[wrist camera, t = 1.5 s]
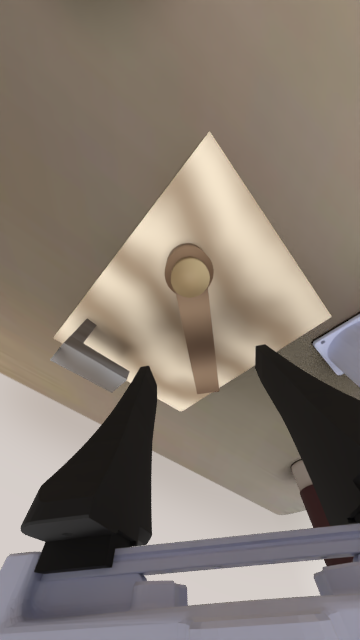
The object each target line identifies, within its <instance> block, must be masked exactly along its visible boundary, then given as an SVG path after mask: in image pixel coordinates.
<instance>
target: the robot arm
mask: <svg viewBox="0 0 360 640" xmlns="http://www.w3.org/2000/svg"><path fill="white" fill-rule="evenodd" d="M321 341H322V342H321ZM313 346H314V347H315V348H316V350H317V351H318V352H319V353H320V355H321V356H322V357H323V358H324V360H325V361H326V362H327V363H328V365H329V366H330V367H331V368H332V370H333V371H334V372H335V373H336V374H337V375H342V374H346V375H347V376H348V377H349V378H350V379H351V380H352V381H353V382H354V383H355V384H357V385H358V386H359V387H360V314H358V315H357V316H355V317H353V318H352V319H350V320H348V321H347V322H345V323H343V324H342V325H340V326H338V327H337V328H335V329H334V330H332V331H330V332H329V333H327V334H325V335H324V336H322V337H320V338H319V339H317V340H315V341H314V342H313ZM255 369H256V371H257V373H258V376H259V378H260V380H261V382H262V384H263V386H264V388H265V389H266V391H267V393H268V394H269V396H270V398H271V400H272V401H273V403H274V405H275V406H276V408H277V410H278V411H279V413H280V415H281V417H282V418H283V420H284V422H285V424H286V426H287V428H288V430H289V432H290V434H291V437H292V439H293V441H294V443H295V445H296V447H297V450H298V452H299V454H300V456H301V458H302V461H303V463H304V465H305V467H306V470H307V472H308V474H309V477H310V479H311V481H312V484H313V486H314V488H315V491H316V493H317V496H318V498H319V500H320V503H321V505H322V508H323V510H324V513H325V515H326V518H327V520H328V522H329V524H330V526H329V527H319V528H310V529H300V530H290V531H282V532H271V533H262V534H252V535H243V536H233V537H224V538H214V539H205V540H194V541H185V542H175V543H166V544H156V545H146V544H147V543H148V541H149V540H150V538H151V536H152V522H151V461H152V439H153V430H154V422H155V414H156V406H157V383H156V381H155V379H154V376H153V374H152V371H151V369H150V367H149V366H143V367H140V368H139V370H138V372H137V373H136V375H135V377H134V379H133V380H132V382H131V384H130V385H129V387H128V389H127V390H126V392H125V393H124V395H123V396H122V398H121V399H120V401H119V402H118V404H117V405H116V407H115V408H114V410H113V411H112V412H111V414H110V415H109V416H108V418H107V419H106V420H105V421H104V423H103V424H102V425H101V426H100V428H99V429H98V430H97V431H96V432H95V433H94V435H93V436H92V437H91V438H90V439H89V440H88V441H87V442H86V443H85V444H84V446H83V447H82V448H81V449H80V450H79V451H78V452H77V453H76V454H75V455H74V456H73V457H72V458H71V459H70V460H69V461H68V462H67V463H66V464H65V465H64V466H62V467H61V468H60V469H59V470H58V471H57V472H56V473H55V474H54V475H53V476H52V477H50V478H49V479H48V480H47V481H46V482H45V483H44V484H43V485H42V486H41V487H40V489H39V491H38V493H37V495H36V497H35V499H34V501H33V503H32V505H31V507H30V509H29V511H28V513H27V515H26V517H25V519H24V521H23V523H22V525H21V531H22V533H24V534H25V535H28V536H30V537H33V538H36V539H39V540H42V541H45V545H44V548H43V550H42V552H26V553H17V554H10V555H9V556H8V557H7V558H6V560H5V562H4V564H3V567H2V569H1V571H0V640H360V400H358V399H356V398H354V397H351V396H349V395H347V394H345V393H343V392H341V391H339V390H337V389H335V388H333V387H331V386H329V385H327V384H326V383H324V382H322V381H320V380H318V379H316V378H315V377H313V376H311V375H310V374H308V373H306V372H305V371H303V370H302V369H300V368H298V367H297V366H295V365H294V364H292V363H291V362H289V361H288V360H287V359H285V358H284V357H282V356H281V355H279V354H278V353H277V352H275V351H274V350H273V349H271V348H270V347H268V346H267V345H266V344H263V345H258V346H256V348H255ZM141 545H146V546H141ZM132 546H137V547H132ZM352 556H355V557H354V558H353V562H351V563H345V564H338V565H332V566H326V567H323V570H322V571H321V572H318V573H316V574H314V579H315V582H316V584H317V587H318V589H319V592H320V595H321V596H308V597H292V598H279V599H264V600H251V601H238V602H226V603H214V604H202V605H192V606H188V605H187V587H186V586H185V585H180V584H176V583H174V581H147V580H146V578H145V577H144V575H155V574H165V573H177V572H187V571H198V570H208V569H220V568H231V567H242V566H252V565H263V564H275V563H286V562H297V561H308V560H319V559H330V558H341V557H352Z"/></svg>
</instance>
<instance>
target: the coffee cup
mask: <svg viewBox="0 0 360 640" xmlns="http://www.w3.org/2000/svg"><path fill="white" fill-rule="evenodd" d="M291 469H292V472H293V475H294V477H295V480H296V482H297V485H298V487H299V490H300V495H301V498H302V500H303V503H304V505H305V508H306V510H307V513H308V515H309V518H310V520H311V523H312V525H313V528H319V527H329V526H330V524H329V522H328V520H327V518H326V515H325V513H324V510H323V508H322V505H321V503H320V500H319V498H318V496H317V493H316V491H315V488H314V486H313V484H312V481H311V479H310V477H309V474H308V472H307V470H306V467H305V465H304V463H303V461H302V460H300V461H298V462H296V463H294V464H293V465H292V468H291ZM354 557H355V556H352V557H341V558H330V559H324V561H325V563H326V565H327V566H332V565H338V564H345V563H351V562H353V558H354Z"/></svg>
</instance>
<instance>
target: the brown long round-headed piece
mask: <svg viewBox="0 0 360 640" xmlns="http://www.w3.org/2000/svg"><path fill="white" fill-rule="evenodd" d="M184 257H196V258H198V259H200V260H201V261H202V262H203V263H204V264H205V266H206V267H207V269H208V271H209V275H210V281H209V285H208V287H209V286H210V284H211V282H212V279H213V274H214V269H213V265H212V262H211V260H210V258H209V257H208V256H207V255H206V254H205V252H204V251H203V250H202V249H201V248H200V247H198V246H197V245H195V244H191V243H184V244H180V245H178V246H176V247H175V248H174V249H173V250H172V251H171V252H170V254H169V256H168V258H167V262H166V267H165V280H166V283H167V285H168V287H169V288H170V289H171V290H172V291H173V292H174V293H175V294H176V297H177V302H178V306H179V311H180V316H181V320H182V325H183V330H184V335H185V339H186V344H187V349H188V354H189V358H190V363H191V368H192V372H193V377H194V382H195V387H196V391H197V394H204V393H212V392H219V383H218V374H217V365H216V356H215V347H214V338H213V329H212V320H211V311H210V302H209V293H208V287H207V289H206V290H205V291H204V292H203V293H202V294H201V295H199V296H196V297H193V298H187V297H183V296H181V295H179V294H178V293H176V291H175V290H174V289H173V287H172V284H171V272H172V269H173V266H174V265H175V263H176V262H177V261H179V260H180V259H182V258H184Z"/></svg>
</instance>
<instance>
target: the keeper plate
mask: <svg viewBox="0 0 360 640" xmlns="http://www.w3.org/2000/svg"><path fill="white" fill-rule="evenodd" d="M184 243H191V244H195V245H197V246H198V247H200V248H201V249H202V250H203V251H204V252H205V254H206V255H207V256H208V257H209V258H210V260H211V262H212V265H213V269H214V274H213V279H212V282H211V284H210V286H209V287H208V285H209V281H210V275H209V271H208V269H207V267H206V266H205V264H204V263H203V262H202V261H201V260H200V259H198V258H196V257H184V258H182V259H180V260H179V261H177V262H176V263H175V265H174V266H173V269H172V272H171V284H172V287H173V289H174V290H175V291H176V293H178V294H179V295H181V296H183V297H187V298H193V297H196V296H199V295H201V294H202V293H203V292H204V291H205V290H206V289H207V287H208V293H209V302H210V311H211V320H212V329H213V338H214V347H215V356H216V365H217V374H218V383H219V388H220V387H221V386H223V385H224V384H226V383H227V382H229V381H231V380H232V379H234V378H235V377H237V376H239V375H240V374H242V373H243V372H245V371H246V370H248V369H250V368H251V367H253V366H254V365H255V348H256V346H258V345H263V344H266V345H267V346H268V347H270V348H271V349H273V350H274V351H275V352H277V351H278V350H280V349H281V348H283V347H285V346H286V345H288V344H289V343H291V342H292V341H294V340H296V339H297V338H299V337H300V336H302V335H304V334H305V333H307V332H308V331H310V330H311V329H313V328H315V327H316V326H318V325H319V324H321V323H323V322H324V321H326V320H327V319H329V318H330V317H332V316H331V315H330V313H329V312H328V310H327V309H326V307H325V306H324V304H323V303H322V301H321V300H320V298H319V297H318V295H317V294H316V292H315V291H314V289H313V288H312V286H311V285H310V283H309V281H308V280H307V278H306V277H305V275H304V274H303V272H302V271H301V269H300V268H299V266H298V265H297V263H296V262H295V260H294V259H293V257H292V256H291V254H290V253H289V251H288V250H287V248H286V247H285V245H284V244H283V242H282V241H281V239H280V237H279V236H278V234H277V233H276V231H275V230H274V228H273V227H272V225H271V224H270V222H269V221H268V219H267V218H266V216H265V215H264V213H263V212H262V210H261V209H260V207H259V206H258V204H257V203H256V201H255V200H254V198H253V197H252V195H251V194H250V192H249V190H248V189H247V187H246V186H245V184H244V183H243V181H242V180H241V178H240V177H239V175H238V174H237V172H236V171H235V169H234V168H233V166H232V165H231V163H230V162H229V160H228V159H227V157H226V156H225V154H224V153H223V151H222V150H221V148H220V147H219V145H218V143H217V142H216V140H215V139H214V137H213V136H212V134H211V133H210V131H209V133H208V134H207V135H206V137H205V138H204V139H203V141H202V142H201V143H200V145H199V146H198V147H197V149H196V150H195V151H194V153H193V154H192V155H191V156H190V158H189V159H188V160H187V162H186V163H185V164H184V166H183V167H182V168H181V170H180V171H179V172H178V174H177V175H176V176H175V178H174V179H173V180H172V182H171V183H170V184H169V186H168V187H167V188H166V190H165V191H164V192H163V193H162V195H161V196H160V197H159V199H158V200H157V201H156V203H155V204H154V205H153V207H152V208H151V209H150V211H149V212H148V213H147V215H146V216H145V217H144V219H143V220H142V221H141V223H140V224H139V225H138V227H137V228H136V229H135V231H134V232H133V233H132V234H131V236H130V237H129V238H128V240H127V241H126V242H125V244H124V245H123V246H122V248H121V249H120V250H119V252H118V253H117V254H116V256H115V257H114V258H113V260H112V261H111V262H110V264H109V265H108V266H107V268H106V269H105V270H104V271H103V273H102V274H101V275H100V277H99V278H98V279H97V281H96V282H95V283H94V285H93V286H92V287H91V289H90V290H89V291H88V293H87V294H86V295H85V297H84V298H83V299H82V301H81V302H80V303H79V305H78V306H77V307H76V309H75V310H74V311H73V312H72V314H71V315H70V316H69V318H68V319H67V320H66V322H65V323H64V324H63V326H62V327H61V328H60V330H59V331H58V332H57V334H56V335H55V336H54V339H55V340H57V341H59V342H61V343H62V346H61V347H60V348H59V349H58V351H57V352H56V353H55V354H54V356H53V357H52V358H51V359H50V360H51V361H53V362H55V363H57V364H58V365H60V366H62V367H64V368H66V369H68V370H70V371H72V372H74V373H76V374H77V375H79V376H81V377H83V378H85V379H87V380H89V381H91V382H93V383H95V384H96V385H98V386H100V387H102V388H104V389H106V390H108V391H110V392H113V391H114V390H115V389H117V388H118V387H119V386H120V385H121V384H122V383H124V382H125V381H126V380H127V381H128V382H130V383H131V382H132V380H133V379H134V377H135V375H136V373H137V372H138V370H139V368H140V367H143V366H149V367H150V369H151V371H152V374H153V376H154V379H155V381H156V383H157V398H158V399H159V400H161V401H163V402H165V403H166V404H168V405H170V406H172V407H173V408H175V409H177V410H179V411H180V412H182V411H183V410H185V409H186V408H188V407H189V406H191V405H193V404H194V403H196V402H197V401H199V400H201V399H202V398H204V397H205V396H207V395H208V394H210V393H204V394H197V391H196V387H195V382H194V377H193V372H192V368H191V363H190V358H189V354H188V349H187V344H186V339H185V335H184V330H183V325H182V320H181V316H180V311H179V306H178V302H177V297H176V294H175V293H174V292H173V291H172V290H171V289H170V288H169V287H168V285H167V283H166V280H165V267H166V262H167V258H168V256H169V254H170V252H171V251H172V250H173V249H174V248H175V247H176V246H178V245H180V244H184Z"/></svg>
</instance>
